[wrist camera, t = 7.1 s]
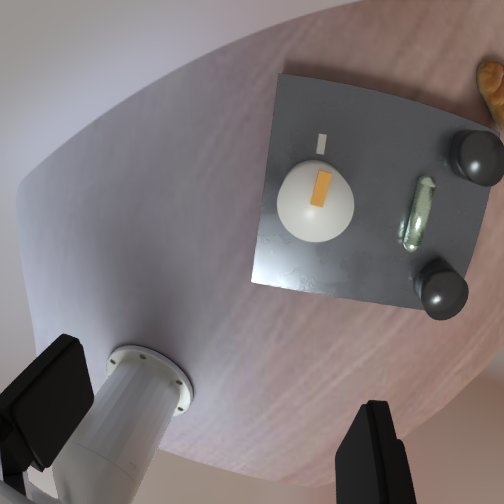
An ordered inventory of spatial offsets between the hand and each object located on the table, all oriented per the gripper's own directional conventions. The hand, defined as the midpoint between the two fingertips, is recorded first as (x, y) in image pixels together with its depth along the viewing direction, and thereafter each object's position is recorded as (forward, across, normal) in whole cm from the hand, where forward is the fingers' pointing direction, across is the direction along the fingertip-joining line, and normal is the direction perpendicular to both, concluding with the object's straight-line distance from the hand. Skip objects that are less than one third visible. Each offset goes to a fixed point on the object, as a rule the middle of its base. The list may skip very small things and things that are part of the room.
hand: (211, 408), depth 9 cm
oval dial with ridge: (+19, -3, -5) cm, 20 cm away
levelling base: (+21, -9, -5) cm, 23 cm away
